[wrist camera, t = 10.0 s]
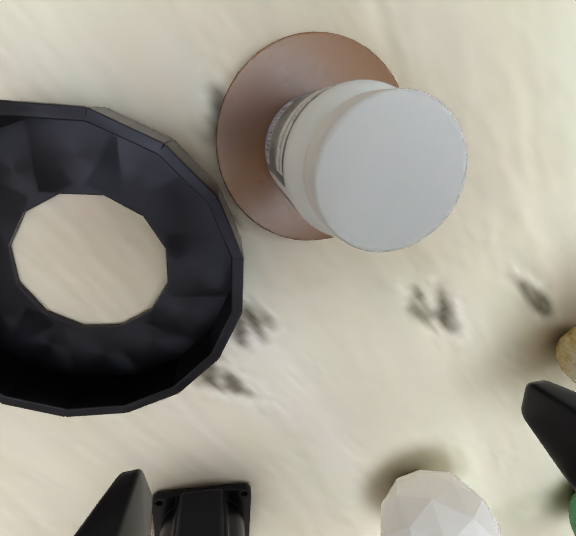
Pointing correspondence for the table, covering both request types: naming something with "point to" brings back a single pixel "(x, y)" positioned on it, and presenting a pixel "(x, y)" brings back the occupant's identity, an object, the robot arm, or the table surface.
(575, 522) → the alien toy
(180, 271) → the pan
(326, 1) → the table surface
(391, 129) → the pill bottle
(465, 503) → the ball
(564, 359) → the decorative mushroom
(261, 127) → the disc
